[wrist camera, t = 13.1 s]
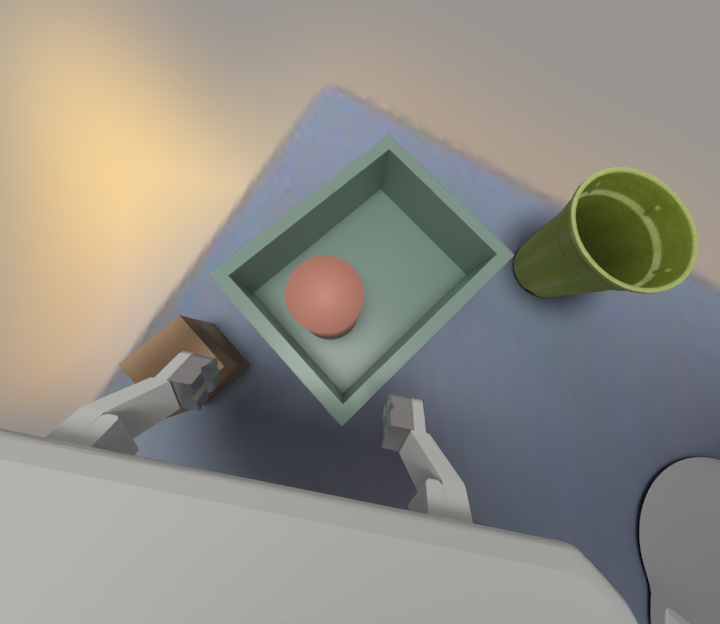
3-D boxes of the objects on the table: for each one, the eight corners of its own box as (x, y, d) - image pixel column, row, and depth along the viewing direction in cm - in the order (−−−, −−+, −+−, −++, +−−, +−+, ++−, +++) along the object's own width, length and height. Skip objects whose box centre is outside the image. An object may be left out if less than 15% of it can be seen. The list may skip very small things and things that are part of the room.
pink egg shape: (369, 313, 23) (380, 295, 16) (328, 351, 22) (321, 349, 15) (333, 274, 24) (328, 240, 17) (291, 309, 23) (268, 289, 16)
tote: (475, 278, 25) (514, 254, 20) (342, 408, 23) (341, 426, 17) (379, 183, 27) (389, 134, 21) (241, 294, 24) (207, 274, 18)
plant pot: (563, 218, 27) (662, 155, 19) (598, 301, 26) (724, 273, 17) (484, 237, 26) (551, 180, 18) (516, 324, 25) (606, 307, 16)
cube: (249, 364, 23) (224, 366, 18) (204, 404, 22) (163, 418, 17) (214, 323, 23) (179, 315, 18) (168, 362, 22) (118, 364, 18)
